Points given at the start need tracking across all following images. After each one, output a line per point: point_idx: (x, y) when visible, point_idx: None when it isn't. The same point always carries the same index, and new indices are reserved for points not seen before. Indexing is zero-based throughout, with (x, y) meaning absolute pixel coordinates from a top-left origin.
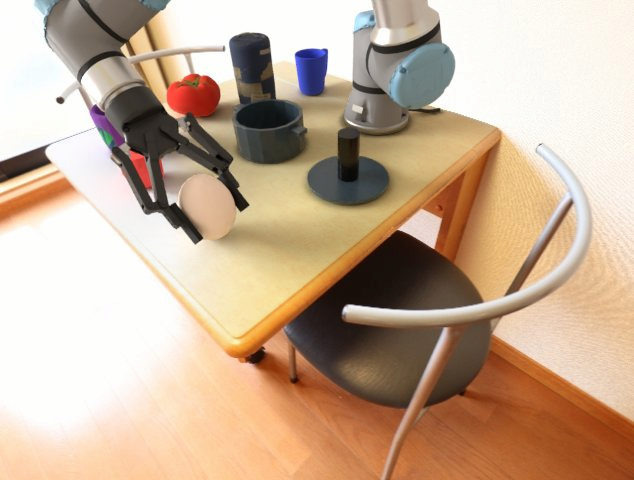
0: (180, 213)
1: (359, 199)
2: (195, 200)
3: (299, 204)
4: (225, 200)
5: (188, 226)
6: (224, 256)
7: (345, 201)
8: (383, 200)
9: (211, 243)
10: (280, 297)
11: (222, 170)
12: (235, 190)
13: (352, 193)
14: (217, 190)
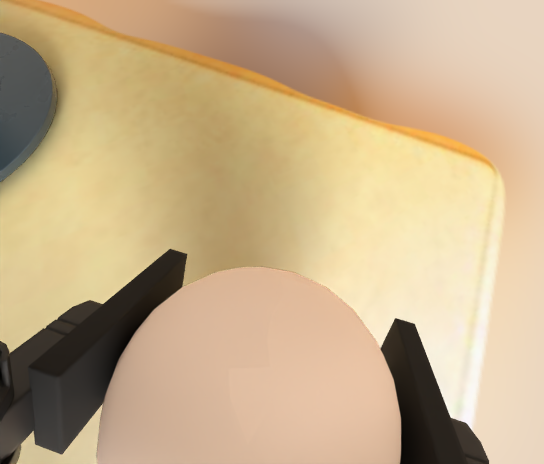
0: (447, 439)
1: (41, 65)
2: (377, 367)
3: (61, 205)
4: (248, 268)
5: (432, 376)
6: None
7: (51, 89)
8: (30, 44)
9: None
10: (374, 135)
11: (10, 392)
12: (135, 292)
13: (14, 82)
14: (248, 284)
